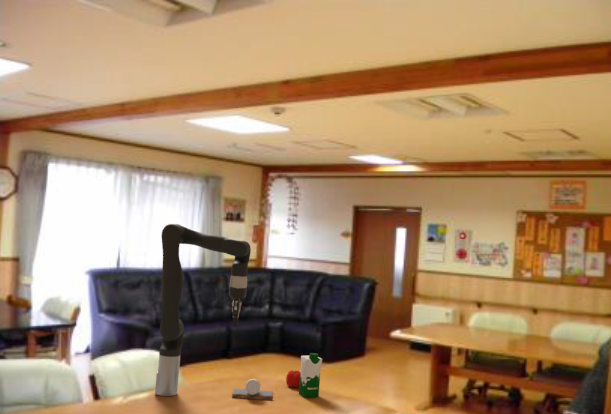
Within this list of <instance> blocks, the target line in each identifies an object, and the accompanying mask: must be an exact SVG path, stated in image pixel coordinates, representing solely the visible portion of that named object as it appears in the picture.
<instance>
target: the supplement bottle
mask: <svg viewBox="0 0 611 414" xmlns="http://www.w3.org/2000/svg"><path fill="white" fill-rule="evenodd" d="M244 387H245V389H246V391H247V393H249V394H251V395H254V394H257V393H258V392H259V390H261V383H260V380H258V379H257V378H254V377H253V378H252V377H251V378H250V379H248V380H247V381H246V383H245V386H244Z"/></svg>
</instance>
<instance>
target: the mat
mask: <svg viewBox="0 0 611 414" xmlns="http://www.w3.org/2000/svg"><path fill="white" fill-rule="evenodd" d="M232 393H241V394H249V393H247V391H246V389H243V388H233V391H232ZM256 395H271V396H272V397H273V391H272V390H261V389H260V390H259V392H258V393H257V394H256Z"/></svg>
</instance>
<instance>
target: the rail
mask: <svg viewBox="0 0 611 414" xmlns="http://www.w3.org/2000/svg"><path fill="white" fill-rule="evenodd" d="M231 394H232V395H231V398H232V399H233V398H234V399H236V398H237V399H249V400H263V401H273V395H272V396H271V395H256V394H254V395H251V394H241V393H233V392H232V393H231Z"/></svg>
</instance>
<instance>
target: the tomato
mask: <svg viewBox="0 0 611 414" xmlns="http://www.w3.org/2000/svg"><path fill="white" fill-rule="evenodd" d="M300 375H301V370H289V371H288V373H287V374H286V377H285V383H286V385H287V386H288V387H289V388H295V389H297V388H299V387H300Z"/></svg>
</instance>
